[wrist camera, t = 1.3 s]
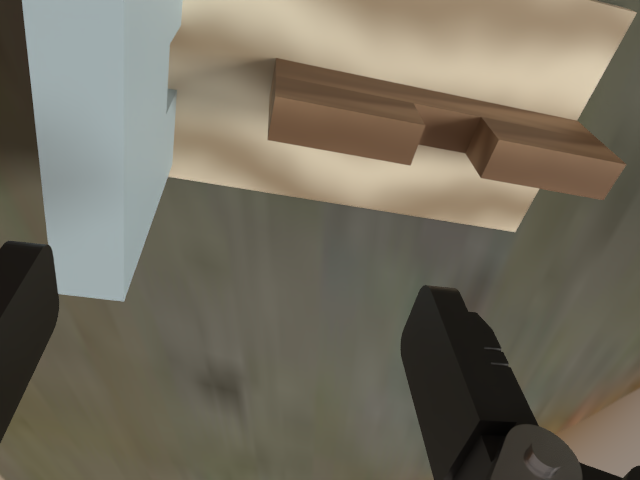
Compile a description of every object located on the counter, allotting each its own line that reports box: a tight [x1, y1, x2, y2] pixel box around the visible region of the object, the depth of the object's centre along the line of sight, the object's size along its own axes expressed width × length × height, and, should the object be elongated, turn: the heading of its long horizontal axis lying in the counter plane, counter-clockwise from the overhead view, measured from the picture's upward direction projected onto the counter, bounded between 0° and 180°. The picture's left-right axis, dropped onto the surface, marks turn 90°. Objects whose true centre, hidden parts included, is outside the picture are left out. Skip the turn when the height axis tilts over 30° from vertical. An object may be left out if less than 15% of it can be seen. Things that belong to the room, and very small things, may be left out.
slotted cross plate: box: [22, 0, 183, 301], centre depth 24 cm, size 14×3×13 cm, turn 167°
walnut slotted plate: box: [267, 58, 626, 200], centre depth 30 cm, size 2×20×6 cm, turn 77°
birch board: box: [168, 0, 637, 232], centre depth 32 cm, size 16×32×1 cm, turn 77°
